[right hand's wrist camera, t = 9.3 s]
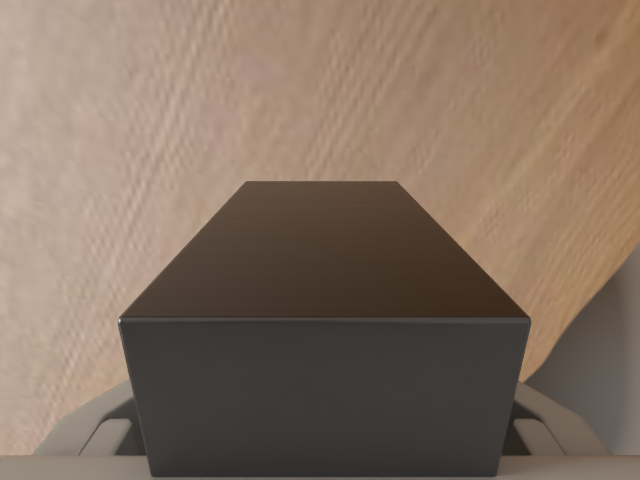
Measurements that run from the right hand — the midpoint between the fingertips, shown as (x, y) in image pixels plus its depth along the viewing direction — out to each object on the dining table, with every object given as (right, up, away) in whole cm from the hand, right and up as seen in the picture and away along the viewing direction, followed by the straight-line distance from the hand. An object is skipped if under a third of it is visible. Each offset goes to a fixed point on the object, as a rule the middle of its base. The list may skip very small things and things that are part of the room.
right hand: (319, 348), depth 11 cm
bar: (0, -7, +5) cm, 8 cm away
